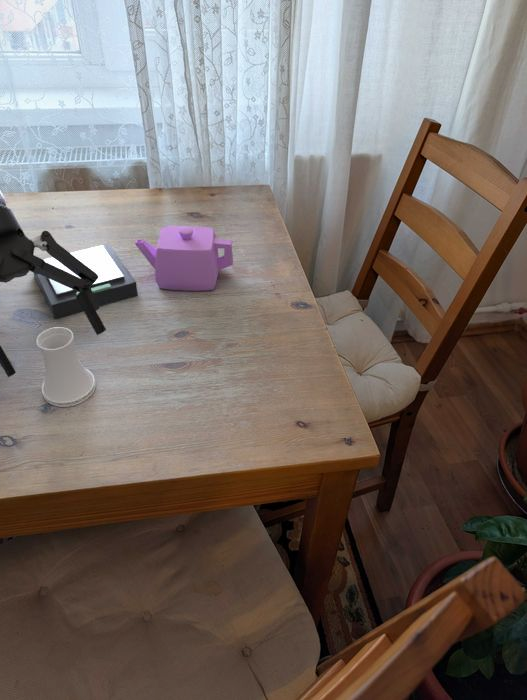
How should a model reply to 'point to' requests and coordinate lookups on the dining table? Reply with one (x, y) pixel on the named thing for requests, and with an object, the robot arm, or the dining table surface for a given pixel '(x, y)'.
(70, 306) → the scale
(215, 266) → the teapot
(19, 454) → the dining table surface
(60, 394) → the vase
